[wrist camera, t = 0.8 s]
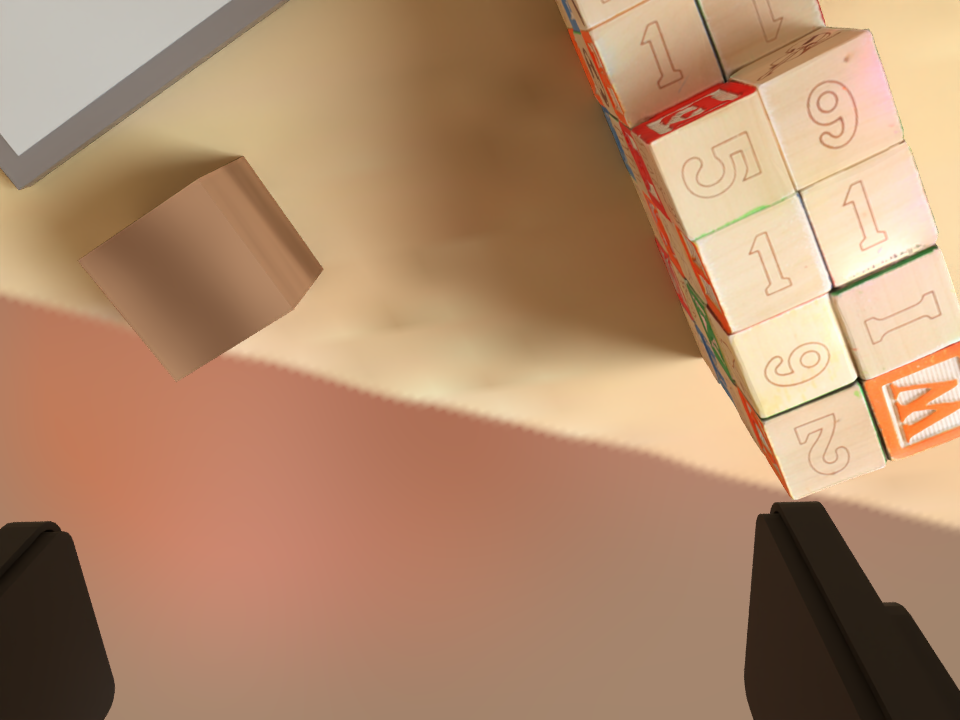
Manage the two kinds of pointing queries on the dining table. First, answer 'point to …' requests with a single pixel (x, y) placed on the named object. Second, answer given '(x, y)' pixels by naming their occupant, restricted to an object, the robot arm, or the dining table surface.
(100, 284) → the walnut cube
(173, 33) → the blueprint board
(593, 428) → the dining table surface
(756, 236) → the stack of blocks
